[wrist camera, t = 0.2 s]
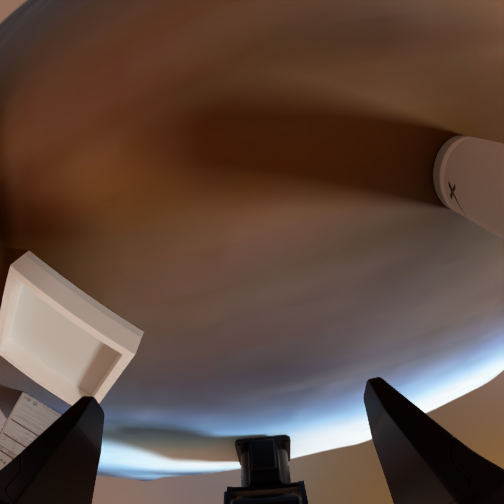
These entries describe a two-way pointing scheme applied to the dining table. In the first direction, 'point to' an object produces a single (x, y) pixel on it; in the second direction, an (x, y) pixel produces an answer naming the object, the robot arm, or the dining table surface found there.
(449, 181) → the travel mug
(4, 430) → the supplement box
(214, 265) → the dining table surface
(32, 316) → the tray
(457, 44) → the dining table surface
